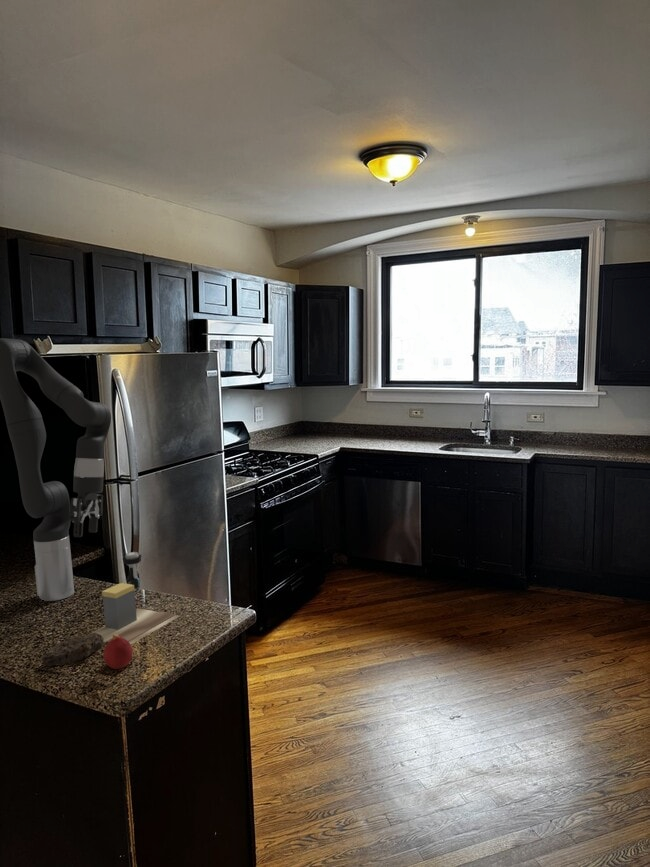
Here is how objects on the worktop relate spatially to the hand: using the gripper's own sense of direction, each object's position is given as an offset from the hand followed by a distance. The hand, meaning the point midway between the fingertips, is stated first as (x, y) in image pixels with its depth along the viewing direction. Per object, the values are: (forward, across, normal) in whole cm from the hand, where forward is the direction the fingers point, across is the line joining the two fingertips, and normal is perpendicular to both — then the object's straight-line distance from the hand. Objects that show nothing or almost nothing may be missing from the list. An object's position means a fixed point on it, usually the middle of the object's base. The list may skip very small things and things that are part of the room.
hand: (85, 534), depth 160 cm
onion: (+23, +33, +25) cm, 47 cm away
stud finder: (+19, +12, +16) cm, 28 cm away
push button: (+18, -18, +7) cm, 26 cm away
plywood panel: (+20, +14, +20) cm, 32 cm away
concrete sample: (+23, +27, +12) cm, 38 cm away
